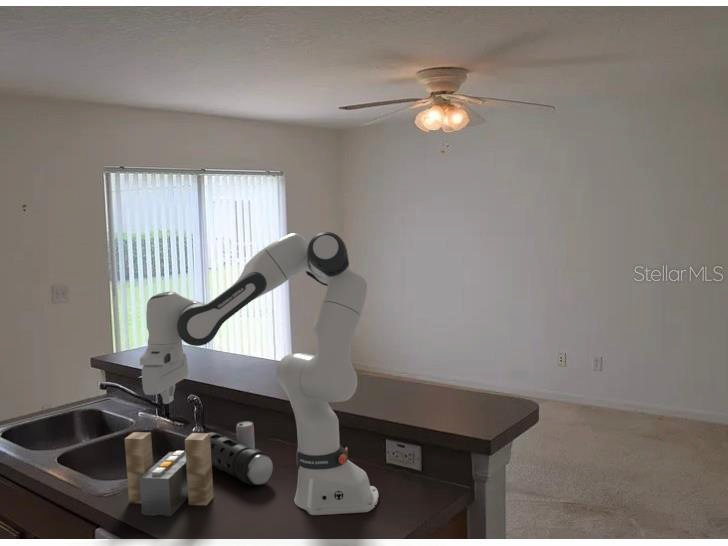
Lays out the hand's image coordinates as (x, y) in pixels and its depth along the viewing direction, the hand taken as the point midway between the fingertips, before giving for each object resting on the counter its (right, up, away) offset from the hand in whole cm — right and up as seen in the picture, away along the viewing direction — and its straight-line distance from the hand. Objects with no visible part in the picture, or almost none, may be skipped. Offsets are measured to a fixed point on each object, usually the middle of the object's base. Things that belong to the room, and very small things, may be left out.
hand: (168, 402), depth 175 cm
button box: (+1, -27, +1) cm, 27 cm away
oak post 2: (+9, -27, -1) cm, 28 cm away
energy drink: (+17, -24, +26) cm, 39 cm away
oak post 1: (-8, -27, +2) cm, 28 cm away
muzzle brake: (+15, -25, +16) cm, 33 cm away
